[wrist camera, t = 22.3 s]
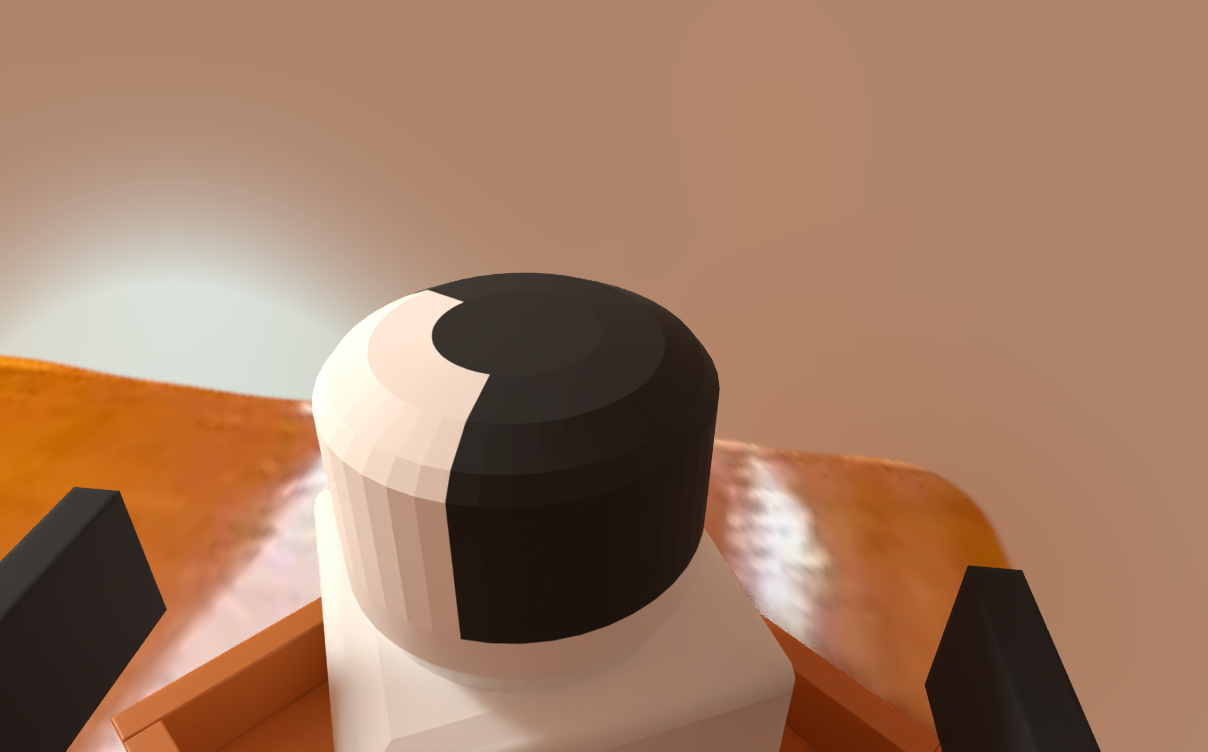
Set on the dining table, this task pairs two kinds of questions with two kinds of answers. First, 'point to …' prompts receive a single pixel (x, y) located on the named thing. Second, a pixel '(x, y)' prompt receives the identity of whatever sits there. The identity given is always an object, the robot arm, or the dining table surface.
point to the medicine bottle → (531, 531)
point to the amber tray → (303, 713)
